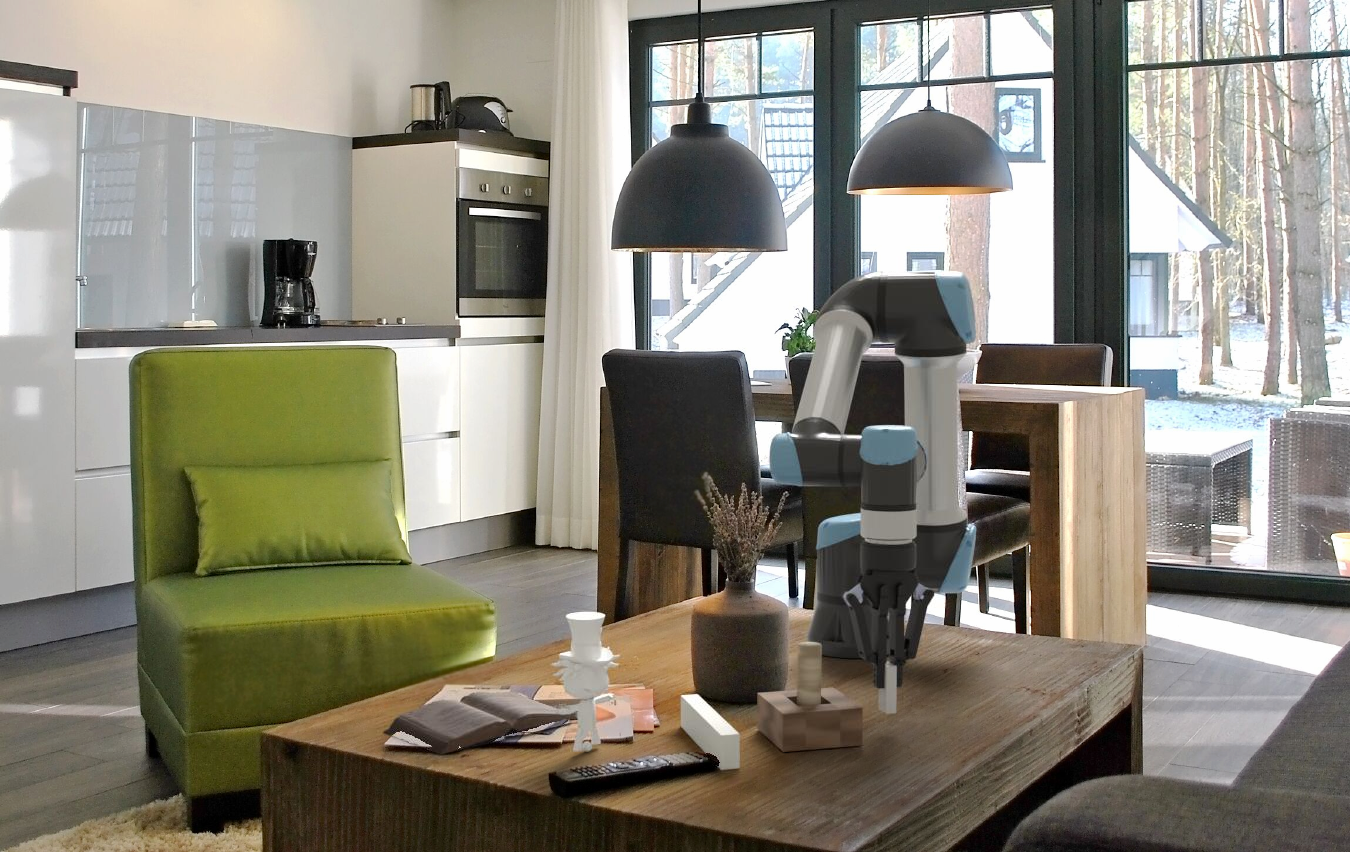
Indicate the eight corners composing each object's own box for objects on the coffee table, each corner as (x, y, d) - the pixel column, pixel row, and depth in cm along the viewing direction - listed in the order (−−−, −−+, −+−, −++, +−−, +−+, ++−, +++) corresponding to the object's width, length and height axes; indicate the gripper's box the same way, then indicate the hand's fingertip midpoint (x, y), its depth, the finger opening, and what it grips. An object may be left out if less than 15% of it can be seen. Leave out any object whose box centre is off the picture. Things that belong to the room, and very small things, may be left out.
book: (361, 736, 195) (361, 704, 194) (524, 695, 213) (525, 666, 213) (440, 778, 180) (440, 744, 179) (608, 730, 199) (609, 700, 198)
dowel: (793, 729, 190) (794, 642, 189) (815, 728, 191) (817, 641, 190) (801, 736, 187) (802, 648, 186) (823, 735, 188) (825, 646, 187)
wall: (680, 726, 195) (680, 695, 195) (697, 725, 196) (697, 694, 195) (721, 770, 176) (721, 735, 175) (739, 768, 176) (739, 734, 176)
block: (757, 728, 193) (757, 693, 193) (832, 722, 196) (832, 687, 196) (783, 751, 182) (783, 714, 182) (862, 745, 185) (862, 707, 185)
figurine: (582, 767, 177) (580, 626, 176) (538, 756, 182) (536, 618, 181) (634, 747, 185) (634, 612, 184) (591, 737, 190) (590, 606, 189)
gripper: (921, 533, 195) (920, 700, 197) (833, 537, 192) (832, 707, 194) (944, 541, 188) (943, 714, 190) (853, 545, 185) (852, 721, 187)
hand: (887, 710), depth 192 cm, fingers closed
